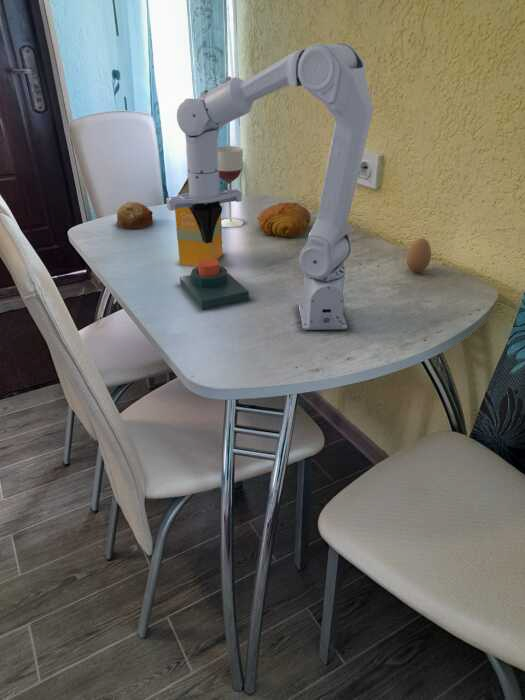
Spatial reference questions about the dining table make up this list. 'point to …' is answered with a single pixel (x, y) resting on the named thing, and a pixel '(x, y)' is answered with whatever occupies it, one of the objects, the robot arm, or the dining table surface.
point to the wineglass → (230, 174)
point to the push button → (208, 267)
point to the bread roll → (134, 215)
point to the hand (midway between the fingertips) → (207, 241)
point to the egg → (418, 255)
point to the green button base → (213, 289)
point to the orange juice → (195, 236)
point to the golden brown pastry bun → (284, 219)
